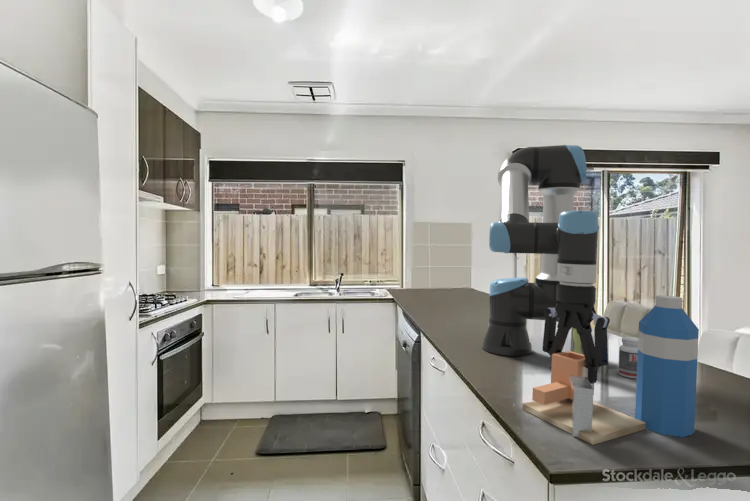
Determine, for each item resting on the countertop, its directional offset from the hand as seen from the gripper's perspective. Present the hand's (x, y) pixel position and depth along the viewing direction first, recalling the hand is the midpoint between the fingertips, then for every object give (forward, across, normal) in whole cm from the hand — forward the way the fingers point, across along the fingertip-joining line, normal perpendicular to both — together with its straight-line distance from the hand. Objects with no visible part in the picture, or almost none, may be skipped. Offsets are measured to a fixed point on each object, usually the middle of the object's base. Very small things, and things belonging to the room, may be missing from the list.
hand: (572, 391), depth 87 cm
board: (+3, +5, -4) cm, 7 cm away
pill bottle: (+3, -5, +34) cm, 34 cm away
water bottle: (+3, +14, +8) cm, 16 cm away
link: (0, 0, -4) cm, 4 cm away
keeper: (+3, +7, -8) cm, 11 cm away
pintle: (+2, 0, 0) cm, 2 cm away
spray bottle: (+3, -13, +23) cm, 27 cm away
